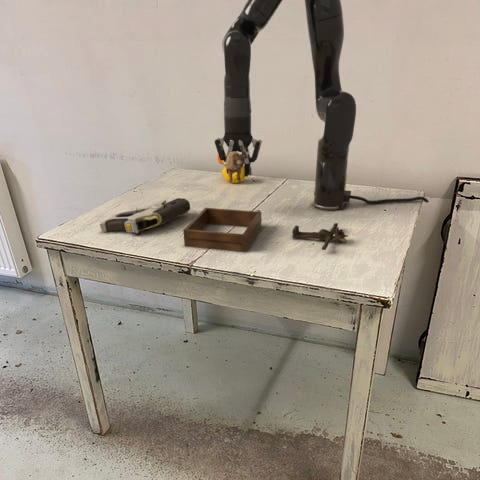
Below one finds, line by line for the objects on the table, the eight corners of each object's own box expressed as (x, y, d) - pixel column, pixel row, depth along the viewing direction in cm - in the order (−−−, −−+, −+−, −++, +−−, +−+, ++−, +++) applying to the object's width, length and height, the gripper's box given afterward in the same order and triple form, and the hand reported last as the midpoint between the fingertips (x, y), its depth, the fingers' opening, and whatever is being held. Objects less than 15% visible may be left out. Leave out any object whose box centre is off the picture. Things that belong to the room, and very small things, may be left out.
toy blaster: (94, 217, 137) (129, 222, 128) (157, 192, 153) (192, 195, 144) (100, 236, 139) (134, 242, 131) (161, 209, 155) (195, 213, 147)
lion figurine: (241, 186, 138) (240, 153, 133) (223, 185, 139) (222, 152, 134) (253, 173, 150) (253, 142, 145) (237, 172, 151) (236, 142, 146)
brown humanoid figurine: (301, 215, 138) (353, 215, 133) (302, 229, 140) (352, 230, 135) (284, 238, 124) (342, 240, 119) (285, 254, 126) (342, 256, 121)
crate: (261, 226, 139) (261, 211, 137) (245, 252, 125) (245, 235, 122) (206, 222, 143) (205, 207, 141) (184, 246, 129) (183, 230, 126)
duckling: (214, 181, 177) (213, 153, 172) (222, 178, 181) (221, 150, 176) (241, 186, 172) (240, 157, 167) (248, 182, 176) (248, 154, 171)
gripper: (208, 115, 133) (211, 177, 142) (259, 116, 129) (259, 180, 139) (217, 110, 139) (219, 170, 148) (265, 112, 136) (264, 173, 145)
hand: (238, 175), depth 143 cm, fingers closed on lion figurine, 4 cm apart
